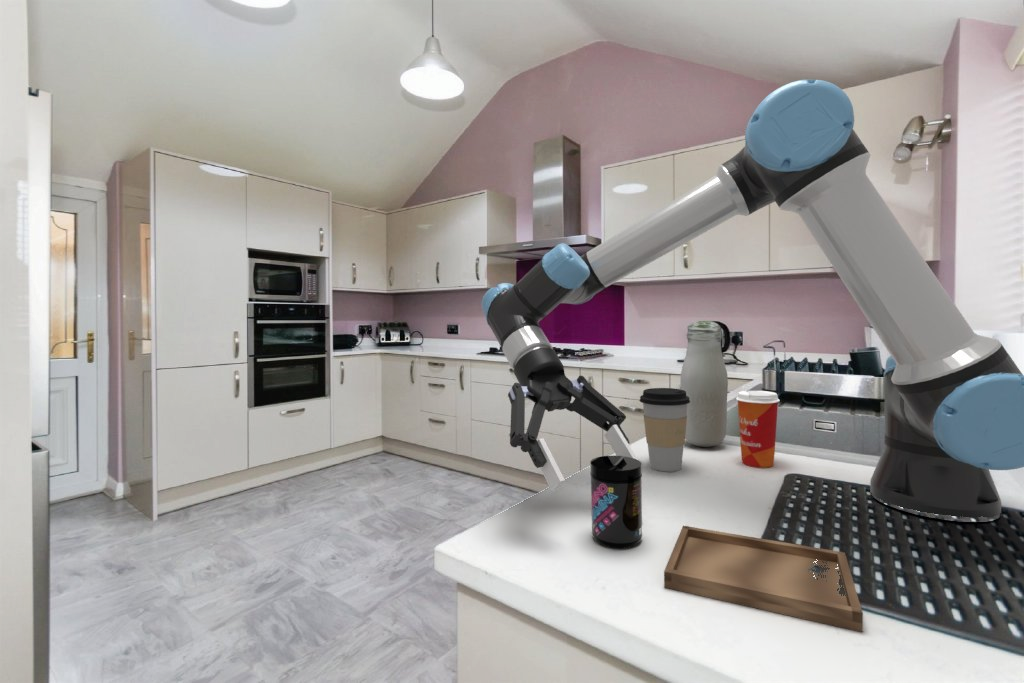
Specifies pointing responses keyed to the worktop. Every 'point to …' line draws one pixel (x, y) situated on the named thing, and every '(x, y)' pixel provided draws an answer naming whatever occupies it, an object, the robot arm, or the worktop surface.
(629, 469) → the supplement container
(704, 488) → the worktop surface
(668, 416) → the coffee cup
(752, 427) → the paper cup
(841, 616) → the tray
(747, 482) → the worktop surface
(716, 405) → the glass bottle
